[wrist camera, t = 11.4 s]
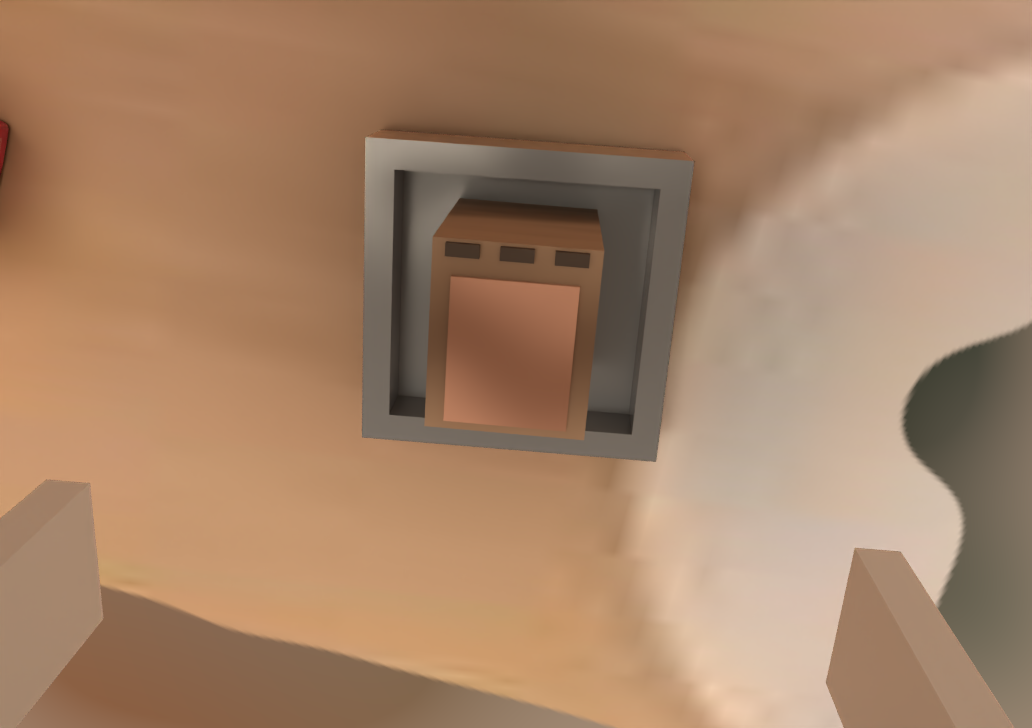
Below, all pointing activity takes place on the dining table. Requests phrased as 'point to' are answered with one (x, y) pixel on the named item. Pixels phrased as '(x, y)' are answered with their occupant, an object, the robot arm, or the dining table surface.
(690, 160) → the slate tray
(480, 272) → the brown block
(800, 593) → the dining table surface
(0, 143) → the ink box
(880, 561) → the robot arm
